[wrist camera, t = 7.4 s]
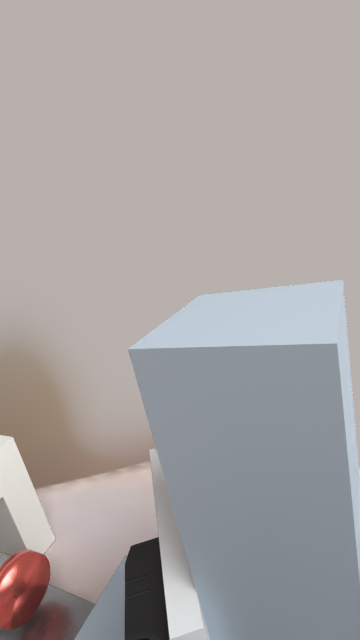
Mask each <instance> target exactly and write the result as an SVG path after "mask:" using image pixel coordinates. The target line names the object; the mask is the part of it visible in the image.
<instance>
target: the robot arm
mask: <svg viewBox="0 0 360 640" xmlns="http://www.w3.org/2000/svg"><path fill="white" fill-rule="evenodd" d="M149 452H150V462H151V471H152V480H153V489H154V499H155V508H156V517H157V526H158V536H159V537H158V538H155V539H152V540H148V541H145V542H142V543H139V544H136V545H133V546H131V548H130V551H129V553H128V556H127V559H126V562H125V640H210V638H209V634H208V631H207V627H206V624H205V620H204V616H203V613H202V609H201V606H200V602H199V599H198V595H197V592H196V589H195V585H194V581H193V578H192V574H191V571H190V567H189V564H188V560H187V557H186V553H185V550H184V546H183V542H182V539H181V535H180V532H179V528H178V525H177V521H176V518H175V514H174V511H173V507H172V503H171V500H170V496H169V493H168V489H167V486H166V482H165V479H164V475H163V472H162V468H161V464H160V461H159V457H158V454H157V450H156V448H155V449H152V450H150V451H149ZM359 477H360V468H359Z"/></svg>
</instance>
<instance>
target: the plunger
mask: <svg viewBox="0 0 360 640" xmlns="http://www.w3.org/2000/svg"><path fill="white" fill-rule="evenodd" d="M49 580H50V564H49V561H48V559H47V557H46V556H45V555H43V554H41V553H38V552H36V551H33V550H30V549H24V550H21V551H18V552H16V553H15V554H13V555H12V556H9V555H6V554H4V553H2V552H0V628H2V629H4V630H13V629H16V628H18V627H20V626H21V625H23V624H24V623H25V622H26V621H27V620H28V619H29V618H30V617H31V616H32V615H33V614H34V613H35V611H36V610H37V608H38V607H39V605H40V604H41V602H42V600H43V598H44V596H45V593H46V591H47V588H48V584H49Z"/></svg>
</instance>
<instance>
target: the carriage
mask: <svg viewBox="0 0 360 640" xmlns="http://www.w3.org/2000/svg"><path fill="white" fill-rule="evenodd" d="M128 351H129V354H130V358H131V362H132V365H133V369H134V372H135V376H136V379H137V383H138V386H139V390H140V393H141V397H142V400H143V404H144V408H145V411H146V415H147V418H148V422H149V425H150V429H151V432H152V436H153V440H154V443H155V446H156V450H157V454H158V457H159V461H160V464H161V468H162V472H163V475H164V479H165V482H166V486H167V489H168V493H169V496H170V500H171V503H172V507H173V511H174V514H175V518H176V521H177V525H178V528H179V532H180V535H181V539H182V542H183V546H184V550H185V553H186V557H187V560H188V564H189V567H190V571H191V574H192V578H193V581H194V585H195V589H196V592H197V595H198V599H199V602H200V606H201V609H202V613H203V616H204V620H205V624H206V627H207V631H208V634H209V638H210V640H360V477H359V465H358V453H357V443H356V442H357V441H356V431H355V418H354V406H353V394H352V383H351V372H350V359H349V348H348V335H347V323H346V312H345V300H344V288H343V280H339V281H329V282H320V283H311V284H302V285H293V286H282V287H273V288H265V289H254V290H245V291H236V292H227V293H217V294H208V295H200V296H198V297H197V298H196V299H194V300H193V301H192V302H190V303H189V304H188V305H186V306H185V307H184V308H182V309H181V310H180V311H178V312H177V313H176V314H174V315H173V316H172V317H170V318H169V319H168V320H166V321H165V322H164V323H162V324H161V325H160V326H158V327H157V328H156V329H154V330H153V331H151V332H150V333H149V334H147V335H146V336H145V337H143V338H142V339H141V340H139V341H138V342H137V343H135V344H134V345H133V346H131V347H130V348H129V349H128ZM126 559H127V556H126V555H125V557H124V558H123V560H122V562H121V563H120V565H119V567H118V568H117V570H116V572H115V573H114V575H113V577H112V578H111V580H110V582H109V583H108V585H107V586H106V588H105V590H104V591H103V593H102V595H101V596H100V598H99V600H98V601H97V603H96V605H95V606H94V608H93V610H92V611H91V613H90V615H89V616H88V618H87V619H86V621H85V623H84V624H83V626H82V628H81V629H80V631H79V633H78V634H77V636H76V638H75V639H74V640H125V562H126Z"/></svg>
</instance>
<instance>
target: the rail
mask: <svg viewBox="0 0 360 640" xmlns="http://www.w3.org/2000/svg"><path fill="white" fill-rule="evenodd" d="M94 606H95V604H93V603H90V602H88V601H86V600H84V599H81V598H79V597H77V596H75V595H72V594H70V593H68V592H66V591H63V590H61V589H59V588H57V587H54V586H52V585H50V584H48V588H47V591H46V593H45V596H44V598H43V600H42V602H41V604H40V605H39V607H38V608H37V610H36V611H35V613H34V614H33V615H32V616H31V617H30V618H29V619H28V620H27V621H26V622H25V623H24V624H23V625H21V626H20V627H18V628H16V629H13V630H4V629H2V628H0V640H74V639H75V638H76V636H77V634H78V633H79V631H80V629H81V628H82V626H83V624H84V623H85V621H86V619H87V618H88V616H89V615H90V613H91V611H92V610H93V608H94Z"/></svg>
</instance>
